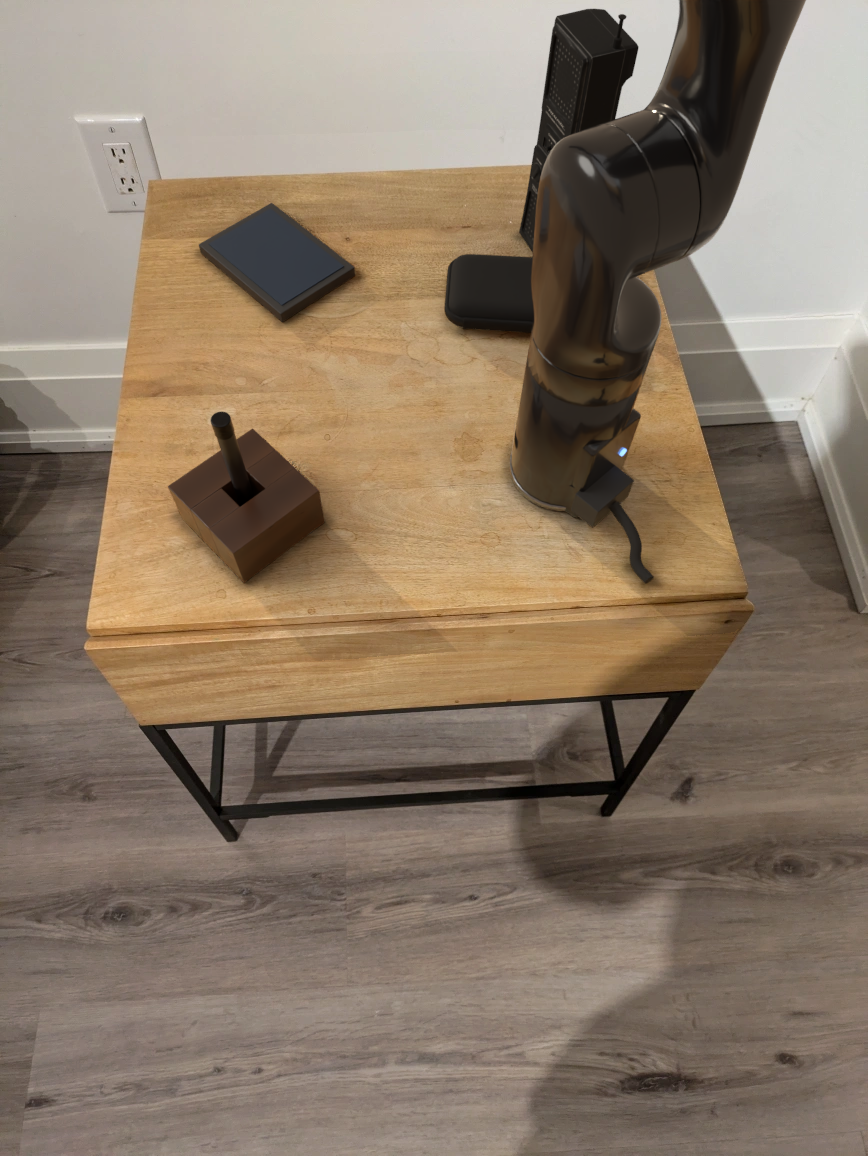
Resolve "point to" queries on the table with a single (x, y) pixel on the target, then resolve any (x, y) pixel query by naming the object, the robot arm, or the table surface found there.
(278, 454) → the pen stand
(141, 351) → the table surface
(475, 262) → the carrying case
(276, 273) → the tablet
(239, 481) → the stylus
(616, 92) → the portable radio
